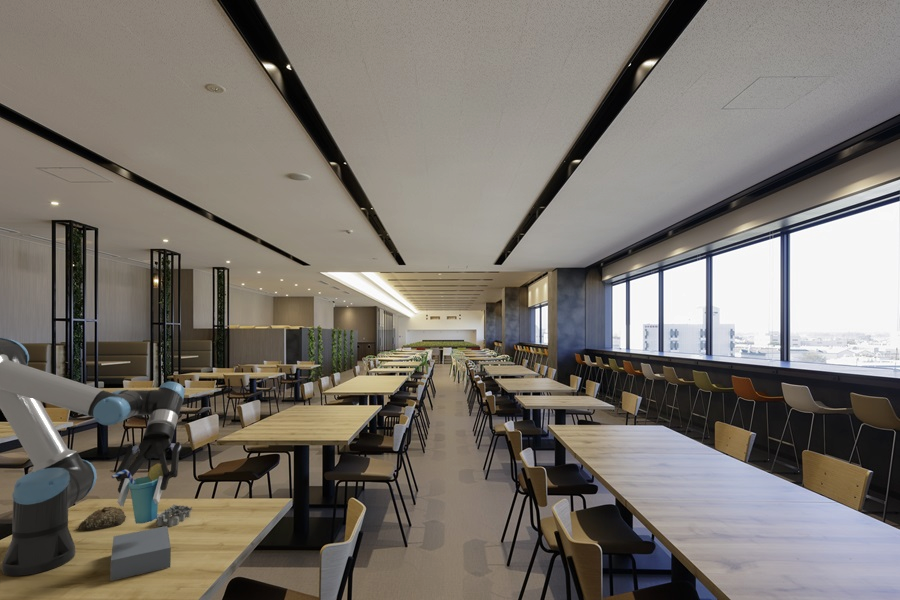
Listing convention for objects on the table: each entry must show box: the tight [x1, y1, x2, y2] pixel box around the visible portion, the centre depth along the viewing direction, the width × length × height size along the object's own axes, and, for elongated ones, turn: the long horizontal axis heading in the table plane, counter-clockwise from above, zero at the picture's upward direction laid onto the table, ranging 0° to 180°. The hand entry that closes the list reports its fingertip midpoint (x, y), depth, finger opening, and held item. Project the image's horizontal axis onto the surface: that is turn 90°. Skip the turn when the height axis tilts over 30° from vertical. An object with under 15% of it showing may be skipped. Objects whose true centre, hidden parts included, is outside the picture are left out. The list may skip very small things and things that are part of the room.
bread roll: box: [77, 506, 127, 532], centre depth 162 cm, size 13×12×5 cm
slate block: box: [110, 525, 172, 582], centre depth 134 cm, size 13×17×5 cm
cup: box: [111, 463, 170, 525], centre depth 135 cm, size 14×8×15 cm, turn 149°
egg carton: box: [155, 504, 193, 528], centre depth 163 cm, size 11×8×4 cm
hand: (138, 502), depth 132 cm, fingers closed on cup, 8 cm apart
